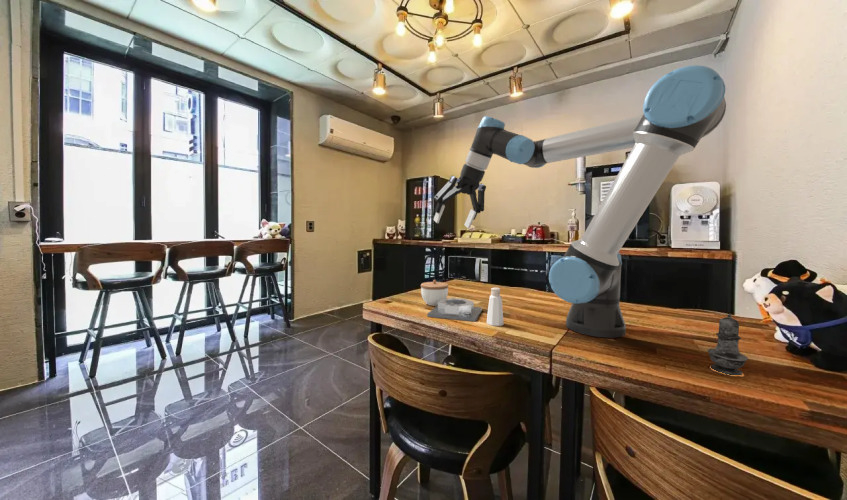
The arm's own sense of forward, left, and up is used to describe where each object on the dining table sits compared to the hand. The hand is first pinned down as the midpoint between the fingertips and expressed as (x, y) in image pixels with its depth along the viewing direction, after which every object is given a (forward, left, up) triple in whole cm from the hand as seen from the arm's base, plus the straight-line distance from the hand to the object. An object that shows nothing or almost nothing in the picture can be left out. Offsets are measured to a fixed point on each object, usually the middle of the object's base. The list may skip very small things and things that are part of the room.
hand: (451, 224), depth 109 cm
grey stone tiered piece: (-65, +29, -31) cm, 78 cm away
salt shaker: (-17, +12, -31) cm, 37 cm away
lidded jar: (+8, -6, -31) cm, 33 cm away
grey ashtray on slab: (-3, +5, -31) cm, 31 cm away
